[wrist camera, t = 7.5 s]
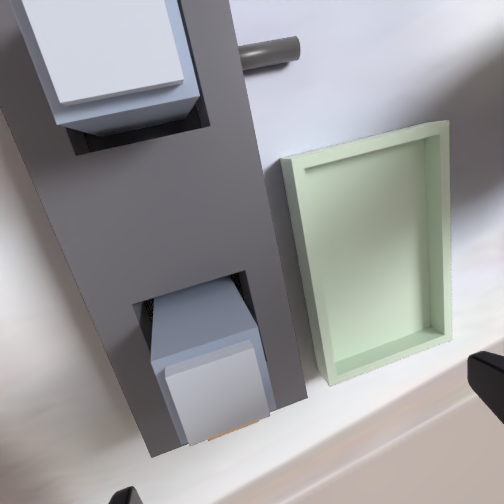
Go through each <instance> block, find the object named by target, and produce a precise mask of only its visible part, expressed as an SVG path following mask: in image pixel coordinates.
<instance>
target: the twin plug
mask: <svg viewBox="0 0 504 504" xmlns="http://www.w3.org/2000/svg"><path fill="white" fill-rule="evenodd" d="M9 1H10V4H11V7H12V9H13V12H14V14H15V17H16V20H17V22H18V25H19V27H20V30H21V33H22V35H23V38H24V40H25V43H26V46H27V48H28V51H29V53H30V56H31V59H32V61H33V64H34V66H35V69H36V72H37V74H38V77H39V79H40V82H41V85H42V87H43V90H44V92H45V95H46V98H47V100H48V103H49V105H50V108H51V111H52V113H53V116H54V118H55V121H56V124H57V125H60V126H63V127H67V128H71V129H74V130H78V131H82V132H85V133H89V134H93V135H96V136H100V137H102V136H107V135H111V134H116V133H121V132H126V131H130V130H135V129H140V128H144V127H149V126H154V125H158V124H163V123H168V122H173V121H177V120H182V119H185V118H186V117H187V115H188V114H189V112H190V110H191V109H192V107H193V106H194V104H195V103H196V101H197V100H198V98H199V97H200V93H199V89H198V85H197V81H196V77H195V73H194V69H193V65H192V60H191V56H190V52H189V48H188V44H187V40H186V36H185V32H184V27H183V23H182V19H181V15H180V11H179V7H178V3H177V0H9ZM238 50H239V55H240V60H241V65H242V70H248V69H254V68H259V67H264V66H269V65H274V64H280V63H285V62H290V61H295V60H298V59H299V57H300V43H299V40H298V38H297V37H296V36H293V37H288V38H282V39H277V40H271V41H266V42H260V43H254V44H249V45H243V46H238Z"/></svg>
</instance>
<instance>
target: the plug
mask: <svg viewBox="0 0 504 504" xmlns="http://www.w3.org/2000/svg"><path fill="white" fill-rule="evenodd" d="M151 364H152V367H153V370H154V373H155V375H156V378H157V381H158V383H159V386H160V389H161V391H162V394H163V397H164V400H165V402H166V405H167V408H168V410H169V413H170V416H171V419H172V421H173V424H174V427H175V429H176V432H177V435H178V437H179V440H180V443H181V445H183V444H185V443H189V445H190V446H192V445H195V444H197V443H200V442H202V441H205V440H208V439H210V438H213V437H216V436H218V435H221V434H224V433H226V432H229V431H232V430H234V429H237V428H239V427H242V426H245V425H247V424H250V423H253V422H255V421H258V420H261V419H263V418H266V417H269V416H270V413H269V412H271V411H273V410H276V409H277V408H276V404H275V399H274V395H273V391H272V386H271V382H270V378H269V373H268V369H267V365H266V360H265V356H264V352H263V347H262V343H261V339H260V334H259V330H258V326H257V324H256V323H255V321H254V319H253V317H252V315H251V313H250V312H249V310H248V308H247V306H246V304H245V303H244V301H243V299H242V297H241V295H240V293H239V292H238V290H237V288H236V286H235V284H234V283H233V281H232V279H231V277H230V275H227V276H224V277H221V278H217V279H214V280H211V281H207V282H204V283H201V284H197V285H194V286H191V287H187V288H184V289H181V290H178V291H174V292H171V293H168V294H164V295H161V296H158V297H154V309H153V327H152V344H151Z"/></svg>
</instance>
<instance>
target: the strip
mask: <svg viewBox="0 0 504 504" xmlns="http://www.w3.org/2000/svg"><path fill="white" fill-rule="evenodd" d="M177 3H178V7H179V11H180V15H181V19H182V23H183V27H184V32H185V36H186V40H187V44H188V48H189V52H190V56H191V60H192V65H193V69H194V73H195V77H196V81H197V85H198V89H199V93H200V97H199V98H198V100H197V101H196V106H197V110H198V114H199V118H200V122H201V126H202V128H200V129H196V130H191V131H186V132H182V133H177V134H173V135H168V136H164V137H159V138H155V139H150V140H145V141H141V142H136V143H132V144H127V145H123V146H118V147H113V148H109V149H104V150H100V151H95V152H91V153H90V151H89V148H88V146H87V143H86V140H85V137H84V134H83V132H82V131H78V130H74V129H71V128H67V127H63V126H60V125H57V124H56V121H55V118H54V116H53V113H52V111H51V108H50V105H49V103H48V100H47V98H46V95H45V92H44V90H43V87H42V85H41V82H40V79H39V77H38V74H37V72H36V69H35V66H34V64H33V61H32V59H31V56H30V53H29V51H28V48H27V46H26V43H25V40H24V38H23V35H22V33H21V30H20V27H19V25H18V22H17V20H16V17H15V14H14V12H13V9H12V7H11V4H10V1H9V0H0V107H1V109H2V112H3V114H4V116H5V119H6V121H7V123H8V126H9V128H10V130H11V133H12V135H13V137H14V140H15V142H16V144H17V146H18V149H19V151H20V153H21V156H22V158H23V160H24V163H25V165H26V167H27V170H28V172H29V174H30V177H31V179H32V181H33V184H34V186H35V188H36V191H37V193H38V195H39V198H40V200H41V202H42V205H43V207H44V209H45V212H46V214H47V216H48V219H49V221H50V223H51V225H52V228H53V230H54V232H55V235H56V237H57V239H58V242H59V244H60V246H61V249H62V251H63V253H64V256H65V258H66V260H67V263H68V265H69V267H70V270H71V272H72V274H73V277H74V279H75V281H76V284H77V286H78V288H79V291H80V293H81V295H82V297H83V300H84V302H85V304H86V307H87V309H88V311H89V314H90V316H91V318H92V321H93V323H94V325H95V328H96V330H97V332H98V335H99V337H100V339H101V342H102V344H103V346H104V349H105V351H106V353H107V356H108V358H109V360H110V363H111V365H112V367H113V369H114V372H115V374H116V376H117V379H118V381H119V383H120V386H121V388H122V390H123V393H124V395H125V397H126V400H127V402H128V404H129V407H130V409H131V411H132V414H133V416H134V418H135V421H136V423H137V425H138V428H139V430H140V432H141V435H142V437H143V439H144V442H145V444H146V446H147V448H148V451H149V453H150V455H151V458H153V457H155V456H158V455H161V454H163V453H166V452H168V451H171V450H174V449H176V448H179V447H181V446H184V445H187V444H189V443H185V444H183V445H181V443H180V440H179V437H178V435H177V432H176V429H175V427H174V424H173V421H172V419H171V416H170V413H169V410H168V408H167V405H166V402H165V400H164V397H163V394H162V391H161V389H160V386H159V383H158V381H157V378H156V375H155V373H154V370H153V367H152V364H151V344H152V327H153V325H152V322H151V319H150V316H149V314H148V311H147V308H146V305H145V303H144V300H148V299H151V298H154V297H158V296H161V295H164V294H168V293H171V292H174V291H178V290H181V289H184V288H187V287H191V286H194V285H197V284H201V283H204V282H207V281H211V280H214V279H217V278H221V277H224V276H227V275H231V274H234V273H237V272H238V275H239V279H240V283H241V287H242V291H243V295H244V299H245V303H246V306H247V308H248V310H249V312H250V313H251V315H252V317H253V319H254V321H255V323H256V324H257V326H258V330H259V334H260V339H261V343H262V347H263V352H264V356H265V360H266V365H267V369H268V373H269V378H270V382H271V386H272V391H273V395H274V399H275V404H276V408H277V409H276V410H278V409H280V408H283V407H285V406H288V405H291V404H293V403H296V402H298V401H301V400H304V399H306V398H308V396H307V391H306V386H305V381H304V376H303V371H302V366H301V361H300V356H299V351H298V346H297V341H296V336H295V331H294V326H293V321H292V316H291V311H290V306H289V301H288V296H287V291H286V286H285V281H284V276H283V271H282V266H281V261H280V256H279V251H278V246H277V241H276V236H275V231H274V226H273V221H272V216H271V211H270V206H269V201H268V196H267V191H266V186H265V181H264V175H263V170H262V165H261V160H260V155H259V150H258V145H257V140H256V135H255V130H254V125H253V120H252V115H251V110H250V105H249V100H248V95H247V90H246V85H245V80H244V75H243V70H242V65H241V60H240V55H239V50H238V45H237V40H236V35H235V30H234V25H233V20H232V15H231V10H230V5H229V0H177ZM273 411H275V410H273ZM271 412H272V411H271ZM269 413H270V412H269ZM256 422H259V420H258V421H255V422H253V423H256ZM253 423H250V424H247V425H245V426H242V427H239V428H237V429H234V430H232V431H229V432H226V433H224V434H221V435H218V436H216V437H213V438H210V439H208V441H209V440H212V439H215V438H217V437H220V436H222V435H225V434H228V433H230V432H233V431H235V430H238V429H240V428H243V427H246V426H248V425H251V424H253Z"/></svg>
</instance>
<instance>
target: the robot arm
mask: <svg viewBox="0 0 504 504" xmlns="http://www.w3.org/2000/svg"><path fill="white" fill-rule="evenodd" d="M467 379H468V383H469V385H470V386H471V388H472V389H473V390H474V392H475V393H476V394H477V395H478V396H479V397H480V398H481V399H482V401H483V402H484V403H485V404H486V405H487V406H488V407H489V408H490V409H491V410H492V412H493V413H494V414H495V415H496V416H497V417H498V418H499V420H500V421H501V422H502V423H503V424H504V356H501V355H497V354H494V353H490V352H486V351H480V352H477V353H475V354H472V355H470V356H469V357H468V360H467ZM109 504H143V503H142V501H141V499H140V497H139V495H138V493H137V491H136V489H135V488H134V487H133V486H130V487H127V488H125V489H122V490H120V491H117V492H116V493H115V494H114V495H113V496H112V498H111V500H110V502H109Z"/></svg>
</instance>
